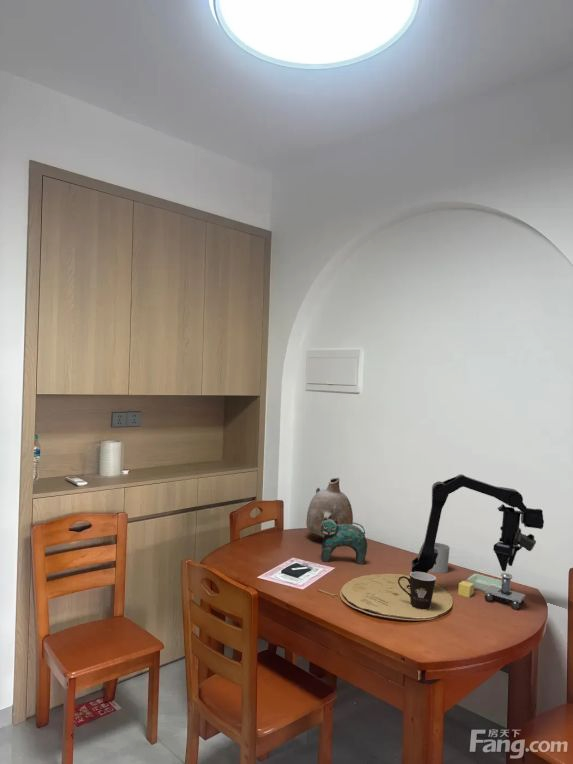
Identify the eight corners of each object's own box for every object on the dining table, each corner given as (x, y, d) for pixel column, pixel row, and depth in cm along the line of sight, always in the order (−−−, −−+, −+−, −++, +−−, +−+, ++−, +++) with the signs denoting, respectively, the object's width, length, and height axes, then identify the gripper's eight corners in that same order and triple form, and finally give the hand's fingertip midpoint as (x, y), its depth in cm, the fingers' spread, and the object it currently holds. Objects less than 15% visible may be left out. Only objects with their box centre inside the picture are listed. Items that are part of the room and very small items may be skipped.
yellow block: (468, 597, 197) (469, 586, 197) (457, 594, 200) (458, 583, 200) (473, 594, 201) (474, 583, 201) (462, 591, 204) (463, 580, 204)
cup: (439, 566, 232) (441, 542, 232) (451, 572, 224) (453, 548, 225) (422, 566, 229) (424, 542, 229) (434, 573, 221) (436, 548, 222)
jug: (300, 532, 266) (305, 471, 266) (342, 534, 270) (347, 474, 270) (311, 548, 242) (317, 480, 242) (357, 549, 246) (363, 483, 246)
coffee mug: (437, 607, 185) (440, 577, 185) (425, 613, 179) (428, 582, 179) (407, 596, 193) (409, 567, 193) (394, 601, 186) (397, 572, 187)
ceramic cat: (318, 562, 222) (322, 513, 223) (316, 557, 229) (320, 509, 229) (366, 566, 223) (370, 517, 223) (363, 561, 230) (367, 513, 230)
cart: (525, 603, 196) (526, 593, 196) (519, 610, 188) (519, 600, 188) (490, 593, 203) (491, 584, 203) (483, 600, 195) (484, 590, 195)
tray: (502, 596, 202) (503, 589, 202) (465, 585, 209) (466, 579, 210) (510, 589, 210) (510, 582, 210) (474, 579, 218) (474, 573, 218)
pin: (508, 604, 193) (510, 577, 193) (497, 601, 195) (500, 574, 195) (511, 602, 196) (513, 574, 196) (500, 599, 198) (502, 572, 198)
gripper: (529, 534, 184) (525, 580, 184) (540, 525, 199) (536, 568, 199) (494, 526, 190) (491, 571, 190) (508, 519, 206) (504, 561, 205)
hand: (507, 568), depth 196 cm, fingers open, 9 cm apart
